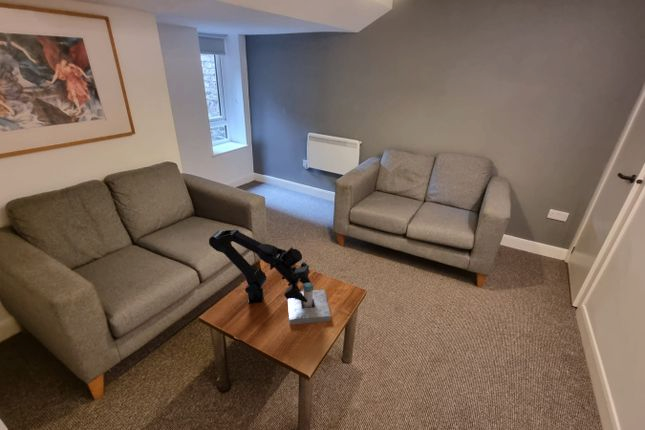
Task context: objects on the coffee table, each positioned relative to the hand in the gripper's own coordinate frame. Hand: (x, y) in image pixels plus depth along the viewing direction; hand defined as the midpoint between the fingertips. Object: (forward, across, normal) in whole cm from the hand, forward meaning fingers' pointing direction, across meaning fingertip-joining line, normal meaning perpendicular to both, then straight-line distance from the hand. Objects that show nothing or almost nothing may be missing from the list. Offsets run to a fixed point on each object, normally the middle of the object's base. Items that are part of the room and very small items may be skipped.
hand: (309, 295), depth 140 cm
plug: (+5, 0, +6) cm, 8 cm away
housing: (+5, 0, +6) cm, 8 cm away
